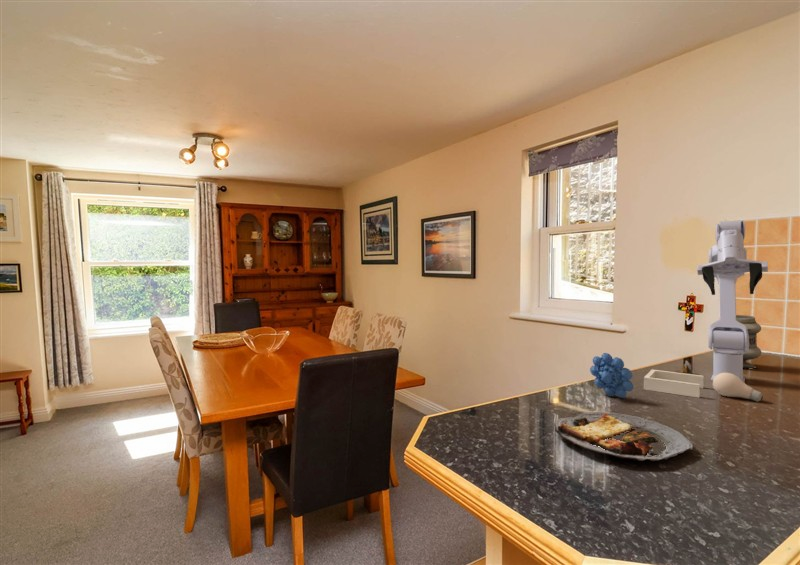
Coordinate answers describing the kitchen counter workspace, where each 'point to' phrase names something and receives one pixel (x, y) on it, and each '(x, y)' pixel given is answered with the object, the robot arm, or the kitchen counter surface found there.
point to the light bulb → (734, 387)
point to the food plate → (607, 425)
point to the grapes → (611, 375)
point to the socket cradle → (674, 383)
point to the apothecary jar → (750, 338)
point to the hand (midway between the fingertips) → (731, 292)
